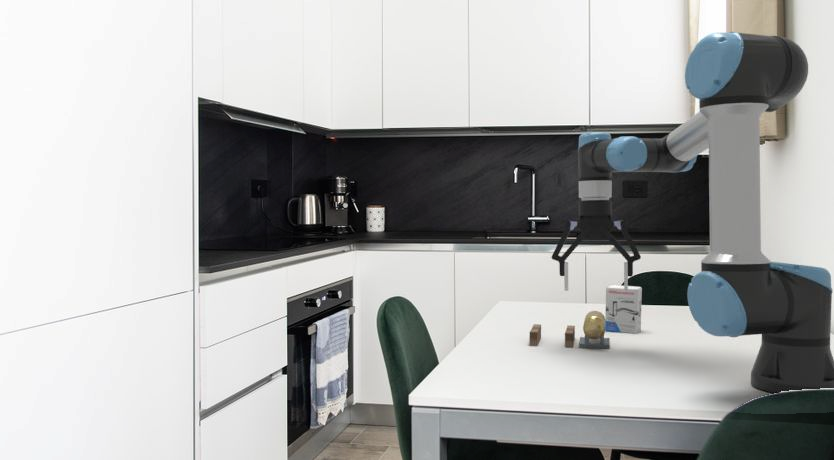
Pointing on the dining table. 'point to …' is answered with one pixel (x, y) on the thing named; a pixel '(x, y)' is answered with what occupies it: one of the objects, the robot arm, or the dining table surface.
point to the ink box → (623, 309)
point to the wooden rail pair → (536, 335)
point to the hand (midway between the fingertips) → (596, 290)
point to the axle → (594, 325)
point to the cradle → (594, 343)
